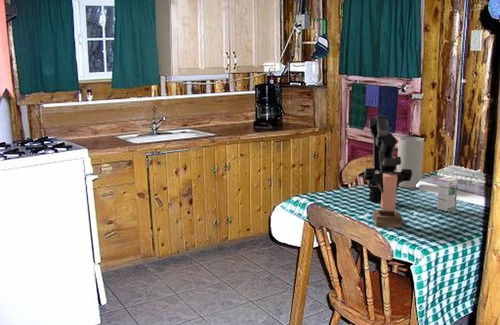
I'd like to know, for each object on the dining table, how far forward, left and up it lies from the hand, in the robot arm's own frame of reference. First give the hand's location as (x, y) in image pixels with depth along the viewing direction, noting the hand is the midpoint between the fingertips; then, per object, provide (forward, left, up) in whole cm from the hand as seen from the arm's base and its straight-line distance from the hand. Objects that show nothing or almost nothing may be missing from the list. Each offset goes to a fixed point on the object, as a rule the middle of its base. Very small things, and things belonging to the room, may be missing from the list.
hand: (389, 192), depth 210 cm
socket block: (-1, -1, -13) cm, 13 cm away
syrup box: (-37, +2, -14) cm, 39 cm away
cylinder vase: (-58, -35, -14) cm, 69 cm away
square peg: (-1, -1, -7) cm, 7 cm away
